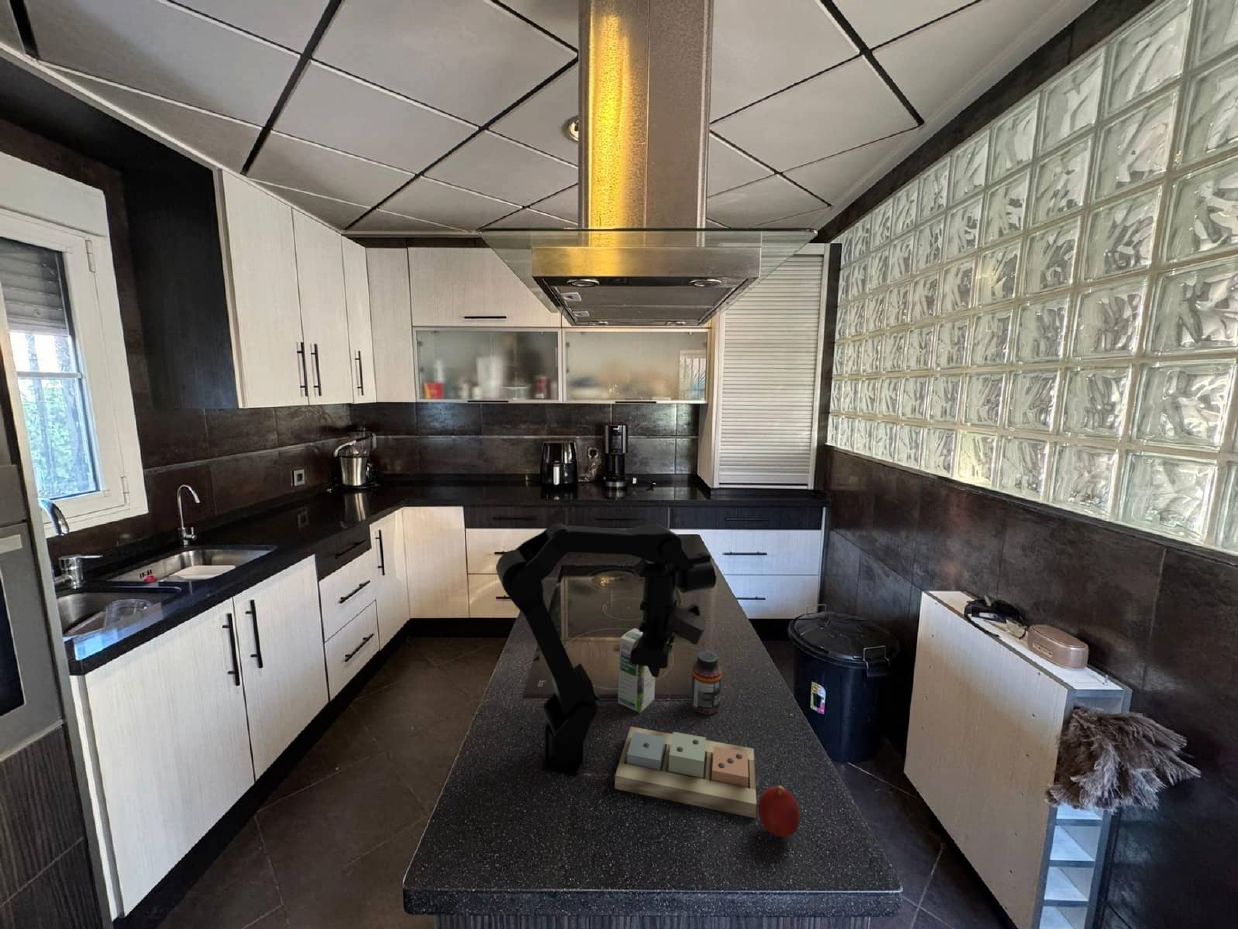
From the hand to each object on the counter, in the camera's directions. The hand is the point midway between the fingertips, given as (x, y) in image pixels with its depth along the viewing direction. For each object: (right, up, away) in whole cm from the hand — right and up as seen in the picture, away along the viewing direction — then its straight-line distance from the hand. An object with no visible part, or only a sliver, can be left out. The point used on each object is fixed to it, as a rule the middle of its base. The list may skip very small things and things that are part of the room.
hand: (655, 676), depth 90 cm
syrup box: (-3, -11, +12) cm, 16 cm away
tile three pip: (+12, -13, -9) cm, 20 cm away
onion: (+17, -16, -18) cm, 29 cm away
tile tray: (+5, -13, -7) cm, 16 cm away
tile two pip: (+5, -11, -8) cm, 14 cm away
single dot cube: (-2, -12, -6) cm, 14 cm away
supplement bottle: (+11, -11, +10) cm, 19 cm away
